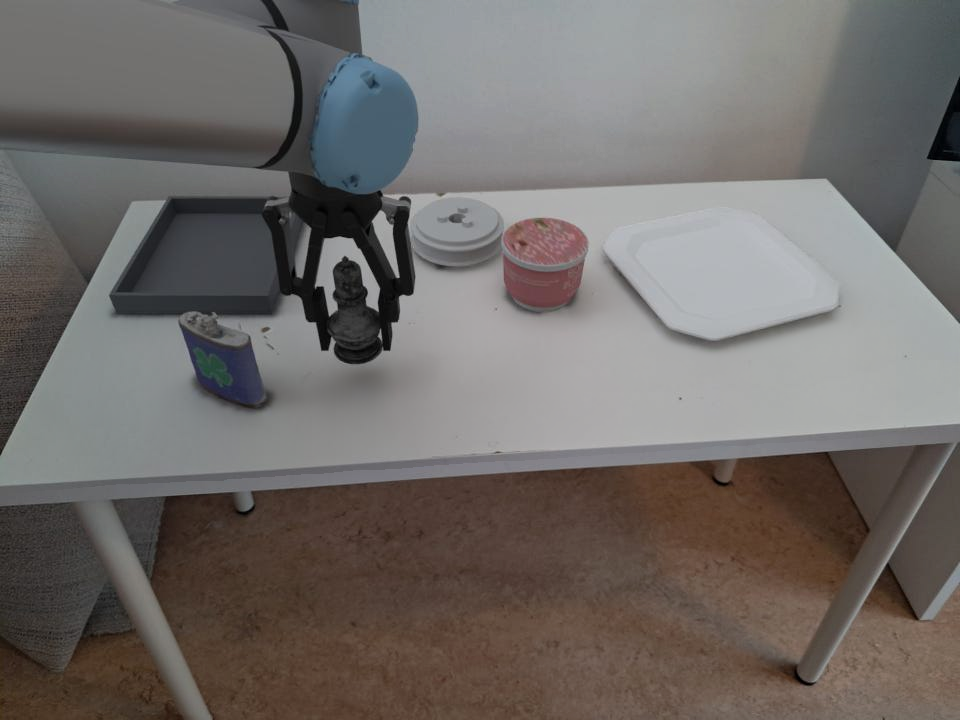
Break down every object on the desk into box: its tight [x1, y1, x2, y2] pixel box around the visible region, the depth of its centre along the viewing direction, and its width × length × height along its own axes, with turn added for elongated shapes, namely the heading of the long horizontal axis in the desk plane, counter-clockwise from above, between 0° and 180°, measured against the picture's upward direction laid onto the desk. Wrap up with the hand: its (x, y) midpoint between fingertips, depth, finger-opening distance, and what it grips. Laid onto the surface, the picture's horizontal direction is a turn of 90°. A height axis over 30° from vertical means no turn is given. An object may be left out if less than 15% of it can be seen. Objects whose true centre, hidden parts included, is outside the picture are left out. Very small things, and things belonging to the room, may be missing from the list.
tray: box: [108, 195, 304, 315], centre depth 97 cm, size 23×19×3 cm
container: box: [501, 217, 590, 313], centre depth 90 cm, size 10×10×8 cm
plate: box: [602, 205, 842, 342], centre depth 95 cm, size 25×25×2 cm
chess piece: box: [326, 255, 383, 365], centre depth 75 cm, size 6×6×12 cm
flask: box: [177, 311, 268, 409], centre depth 76 cm, size 9×3×11 cm, turn 61°
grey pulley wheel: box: [410, 196, 505, 267], centre depth 99 cm, size 13×13×5 cm
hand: (357, 342), depth 78 cm, fingers closed on chess piece, 6 cm apart
